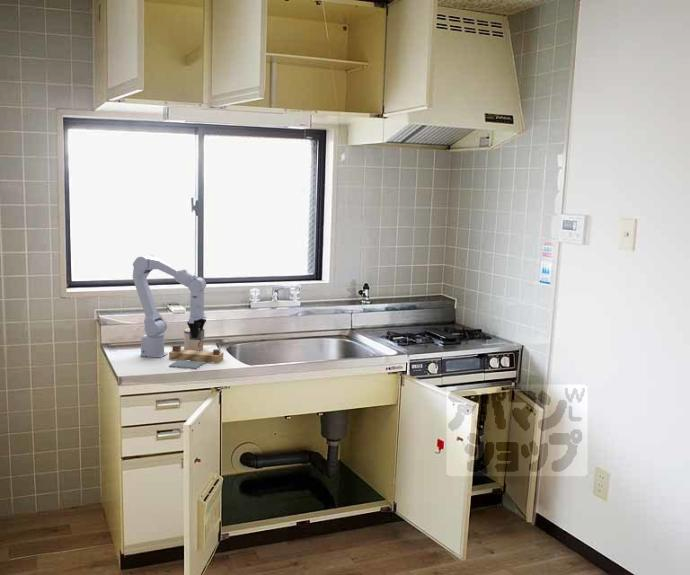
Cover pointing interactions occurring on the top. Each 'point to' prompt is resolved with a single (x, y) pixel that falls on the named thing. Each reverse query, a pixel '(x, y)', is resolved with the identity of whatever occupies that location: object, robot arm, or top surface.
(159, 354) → the robot arm
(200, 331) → the lever cap
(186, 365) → the slate mat
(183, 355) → the hand plane
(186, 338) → the teacup with lid
